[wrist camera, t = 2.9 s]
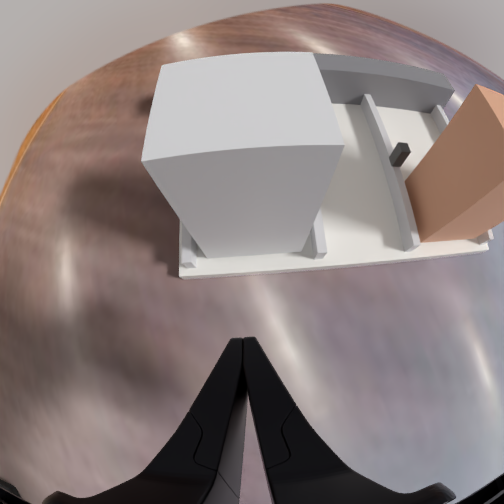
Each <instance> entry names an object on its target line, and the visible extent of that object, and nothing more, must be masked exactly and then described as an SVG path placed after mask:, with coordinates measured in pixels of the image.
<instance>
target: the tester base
mask: <svg viewBox="0 0 504 504" xmlns="http://www.w3.org/2000/svg"><path fill="white" fill-rule="evenodd" d="M313 55H314V58H315V60H316V63H317V65H318V68H319V70H320V73H321V76H322V78H323V81H324V84H325V86H326V89H327V92H328V95H329V97H330V100H331V103H332V106H333V109H334V112H335V115H336V118H337V121H338V124H339V128H340V131H341V134H342V137H343V141H344V144H345V146H344V148H343V151H342V154H341V156H340V159H339V161H338V164H337V167H336V169H335V172H334V174H333V177H332V179H331V182H330V184H329V187H328V189H327V192H326V194H325V197H324V199H323V202H322V204H321V206H320V209H319V211H318V214H317V216H316V219H315V221H314V223H313V226H312V228H311V230H310V233H309V235H308V237H307V240H306V242H305V244H304V247H303V249H302V251H301V252H291V253H278V254H264V255H250V256H236V257H222V258H207V257H206V256H205V254H204V253H203V251H202V250H201V249H200V247H199V246H198V244H197V243H196V241H195V240H194V239H193V237H192V236H191V234H190V233H189V232H188V230H187V229H186V227H185V226H184V224H183V223H182V221H181V220H180V234H179V277H181V278H182V279H199V278H216V277H231V276H246V275H261V274H274V273H287V272H300V271H312V270H324V269H336V268H347V267H358V266H369V265H379V264H389V263H399V262H409V261H418V260H427V259H436V258H445V257H454V256H462V255H470V254H478V253H483V252H485V251H487V250H489V248H488V244H487V242H489V241H491V240H493V239H494V237H493V233H492V230H491V229H490V230H488V231H486V232H485V233H483V234H481V235H480V236H478V237H476V238H474V239H463V240H450V241H438V242H425V243H420V239H419V234H418V230H417V226H416V222H415V218H414V214H413V210H412V206H411V203H410V199H409V196H408V192H407V189H406V186H405V182H404V181H405V180H406V179H407V178H408V176H409V175H410V174H411V173H412V171H413V170H414V169H415V168H416V166H417V165H418V164H419V163H420V161H421V160H422V159H423V157H424V156H425V155H426V153H427V152H428V151H429V150H430V148H431V147H432V146H433V144H434V143H435V142H436V140H437V139H438V137H439V136H440V135H441V133H442V132H443V131H444V129H445V128H446V127H447V125H448V124H449V120H448V118H447V116H446V114H445V113H444V111H443V109H444V107H445V105H446V104H447V102H448V101H449V99H450V98H451V96H452V94H453V93H454V91H455V90H454V89H453V87H452V86H451V84H450V83H449V81H448V80H447V78H446V77H445V75H444V74H442V73H438V72H434V71H430V70H427V69H422V68H418V67H414V66H409V65H405V64H400V63H394V62H389V61H383V60H377V59H370V58H363V57H354V56H345V55H333V54H317V53H313Z"/></svg>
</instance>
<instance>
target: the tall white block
mask: <svg viewBox="0 0 504 504" xmlns="http://www.w3.org/2000/svg"><path fill="white" fill-rule="evenodd" d="M344 146H345V144H344V141H343V137H342V134H341V131H340V128H339V124H338V121H337V118H336V115H335V112H334V109H333V106H332V103H331V100H330V97H329V95H328V92H327V89H326V86H325V84H324V81H323V78H322V76H321V73H320V70H319V68H318V65H317V63H316V60H315V58H314V55H313V53H312V52H262V53H244V54H232V55H222V56H214V57H206V58H199V59H193V60H187V61H181V62H176V63H170V64H166V65H162V67H161V71H160V74H159V78H158V82H157V86H156V90H155V94H154V98H153V103H152V107H151V112H150V116H149V121H148V126H147V131H146V136H145V142H144V147H143V153H142V159H141V162H142V164H143V165H144V167H145V168H146V170H147V171H148V173H149V174H150V176H151V177H152V179H153V180H154V182H155V183H156V185H157V186H158V188H159V189H160V191H161V192H162V194H163V195H164V197H165V198H166V200H167V201H168V203H169V204H170V205H171V207H172V208H173V210H174V211H175V213H176V214H177V216H178V217H179V219H180V220H181V221H182V223H183V224H184V226H185V227H186V229H187V230H188V232H189V233H190V234H191V236H192V237H193V239H194V240H195V241H196V243H197V244H198V246H199V247H200V249H201V250H202V251H203V253H204V254H205V256H206V257H207V258H222V257H236V256H250V255H264V254H278V253H291V252H301V251H302V249H303V247H304V244H305V242H306V240H307V237H308V235H309V233H310V230H311V228H312V226H313V223H314V221H315V219H316V216H317V214H318V211H319V209H320V206H321V204H322V202H323V199H324V197H325V194H326V192H327V189H328V187H329V184H330V182H331V179H332V177H333V174H334V172H335V169H336V167H337V164H338V161H339V159H340V156H341V154H342V151H343V148H344Z"/></svg>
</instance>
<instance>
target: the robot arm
mask: <svg viewBox="0 0 504 504" xmlns="http://www.w3.org/2000/svg"><path fill="white" fill-rule="evenodd" d="M248 397H249V402H250V407H251V412H252V416H253V421H254V426H255V431H256V435H257V440H258V444H259V449H260V454H261V458H262V462H263V467H264V471H265V476H266V480H267V484H268V488H269V493H270V497H271V501H272V504H446V503H448V502H450V501H452V500H454V499H455V498H456V496H455V494H454V493H453V492H452V491H451V490H450V489H449V488H447V487H446V486H444V485H443V484H442V483H436V484H433V485H430V486H428V487H426V488H423V489H421V490H419V491H416V492H413V493H406V494H404V493H398V492H395V491H392V490H390V489H388V488H386V487H384V486H382V485H380V484H378V483H376V482H374V481H372V480H370V479H368V478H366V477H364V476H362V475H360V474H359V473H357V472H355V471H354V470H352V469H351V468H350V467H348V466H347V465H346V464H345V463H344V462H343V461H342V460H341V459H340V458H339V457H338V456H337V455H336V454H335V453H334V452H333V451H332V450H331V449H330V447H329V446H328V445H327V444H326V443H325V442H324V441H323V440H322V439H321V438H320V436H319V435H318V434H317V433H316V432H315V430H314V429H313V428H312V427H311V426H310V424H309V423H308V421H307V420H306V419H305V417H304V416H303V414H302V413H301V411H300V409H299V408H298V406H296V403H295V402H294V400H293V399H292V397H291V395H290V394H289V392H288V390H287V389H286V387H285V386H284V384H283V382H282V381H281V379H280V377H279V376H278V374H277V372H276V371H275V369H274V368H273V366H272V364H271V363H270V361H269V359H268V358H267V356H266V354H265V353H264V351H263V349H262V347H261V346H260V344H259V342H258V341H257V339H256V338H255V337H244V338H231V339H230V341H229V342H228V344H227V346H226V348H225V349H224V351H223V353H222V355H221V356H220V358H219V360H218V362H217V363H216V365H215V367H214V369H213V370H212V372H211V374H210V375H209V377H208V379H207V381H206V382H205V384H204V386H203V387H202V389H201V391H200V393H199V394H198V396H197V398H196V399H195V401H194V403H193V404H192V406H191V408H190V409H189V411H190V412H188V413H187V414H186V416H185V418H184V419H183V421H182V422H181V424H180V426H179V427H178V429H177V430H176V432H175V433H174V434H173V436H172V437H171V438H170V439H169V441H168V442H167V443H166V444H165V446H164V447H163V448H162V449H161V451H160V452H159V453H158V454H157V455H156V457H155V458H154V459H153V460H152V461H151V462H150V464H149V465H148V466H147V467H146V468H145V469H144V470H143V471H142V472H141V473H140V474H138V475H137V476H136V477H134V478H132V479H130V480H128V481H126V482H124V483H122V484H120V485H118V486H115V487H113V488H111V489H109V490H106V491H104V492H102V493H99V494H97V495H95V496H91V497H87V498H77V497H73V496H70V495H68V494H65V493H63V492H60V491H56V492H54V493H53V494H51V495H49V496H48V497H47V498H45V500H44V501H43V502H42V504H239V498H240V486H241V475H242V463H243V451H244V439H245V427H246V414H247V402H248ZM0 504H31V503H29V502H27V501H25V500H23V499H22V498H20V497H18V496H16V495H14V494H12V493H10V492H9V491H7V490H5V489H4V488H2V487H0ZM455 504H504V473H503V474H502V475H500V476H499V477H497V478H496V479H494V480H493V481H491V482H490V483H488V484H487V485H485V486H484V487H482V488H481V489H479V490H477V491H476V492H474V493H473V494H471V495H469V496H468V497H466V498H464V499H463V500H461V501H459V502H457V503H455Z"/></svg>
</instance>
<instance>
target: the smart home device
mask: <svg viewBox="0 0 504 504" xmlns="http://www.w3.org/2000/svg"><path fill="white" fill-rule="evenodd" d="M0 487H2V488H4V489H5V490H7V491H9V492H10V493H12V494H14V495H16V496H18V497H20V498H21V496H20V494H19V493H18V491H17V489H16V488H15V487H14V486H13V485H11V484H9V483H7V482H5V481H3V480H1V479H0Z"/></svg>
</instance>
